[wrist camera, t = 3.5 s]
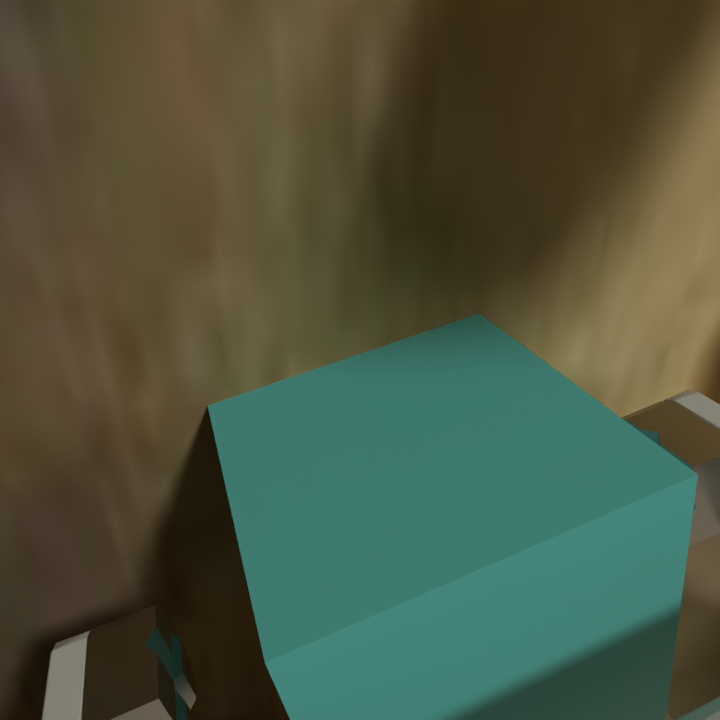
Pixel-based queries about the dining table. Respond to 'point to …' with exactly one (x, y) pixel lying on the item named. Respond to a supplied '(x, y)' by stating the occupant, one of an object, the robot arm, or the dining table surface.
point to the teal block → (455, 537)
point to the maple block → (697, 632)
